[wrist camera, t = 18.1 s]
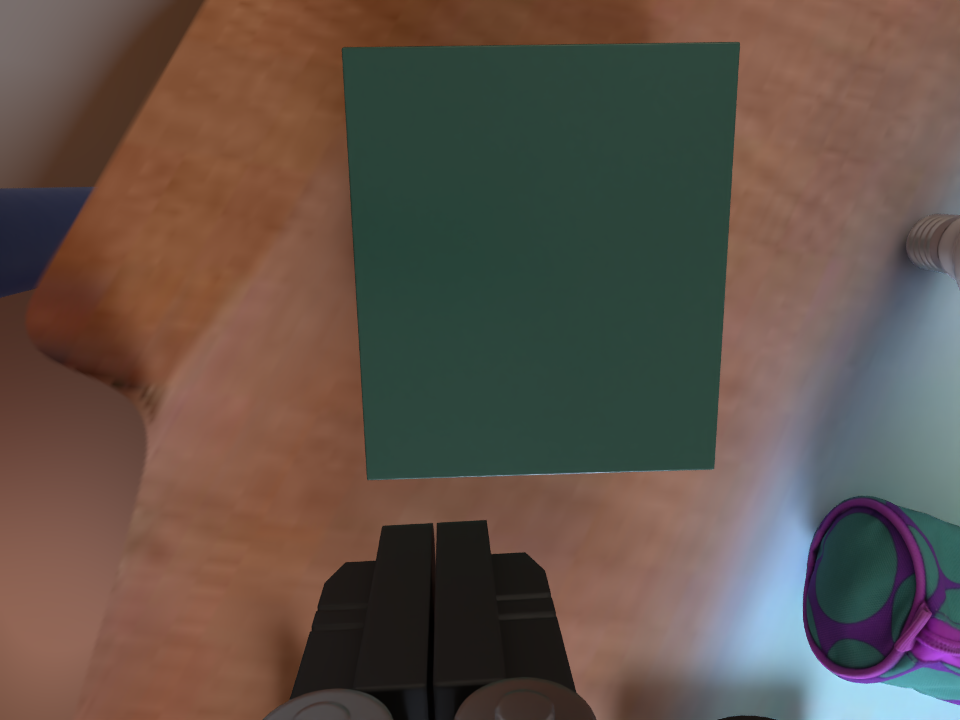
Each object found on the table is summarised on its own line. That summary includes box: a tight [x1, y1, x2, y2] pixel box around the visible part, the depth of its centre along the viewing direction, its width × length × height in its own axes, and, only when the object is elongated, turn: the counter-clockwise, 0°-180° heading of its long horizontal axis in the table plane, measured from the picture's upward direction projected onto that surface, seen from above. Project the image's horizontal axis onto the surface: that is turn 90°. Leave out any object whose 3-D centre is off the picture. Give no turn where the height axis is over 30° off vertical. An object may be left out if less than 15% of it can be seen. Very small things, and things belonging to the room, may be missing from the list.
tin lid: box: [342, 42, 740, 480], centre depth 25 cm, size 14×13×1 cm
